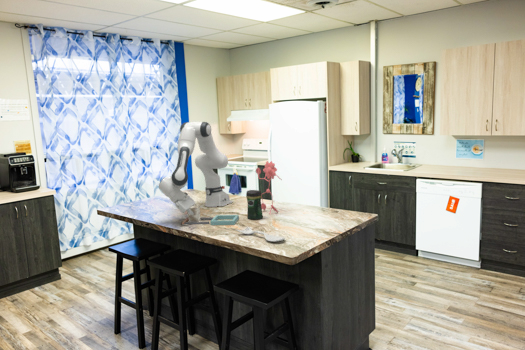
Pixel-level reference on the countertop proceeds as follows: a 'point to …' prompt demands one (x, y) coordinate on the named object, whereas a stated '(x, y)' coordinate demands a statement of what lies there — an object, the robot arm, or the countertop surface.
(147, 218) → the countertop surface
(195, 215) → the cream block
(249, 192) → the coffee jar
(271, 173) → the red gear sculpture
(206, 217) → the channel
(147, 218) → the countertop surface
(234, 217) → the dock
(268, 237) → the spoon
